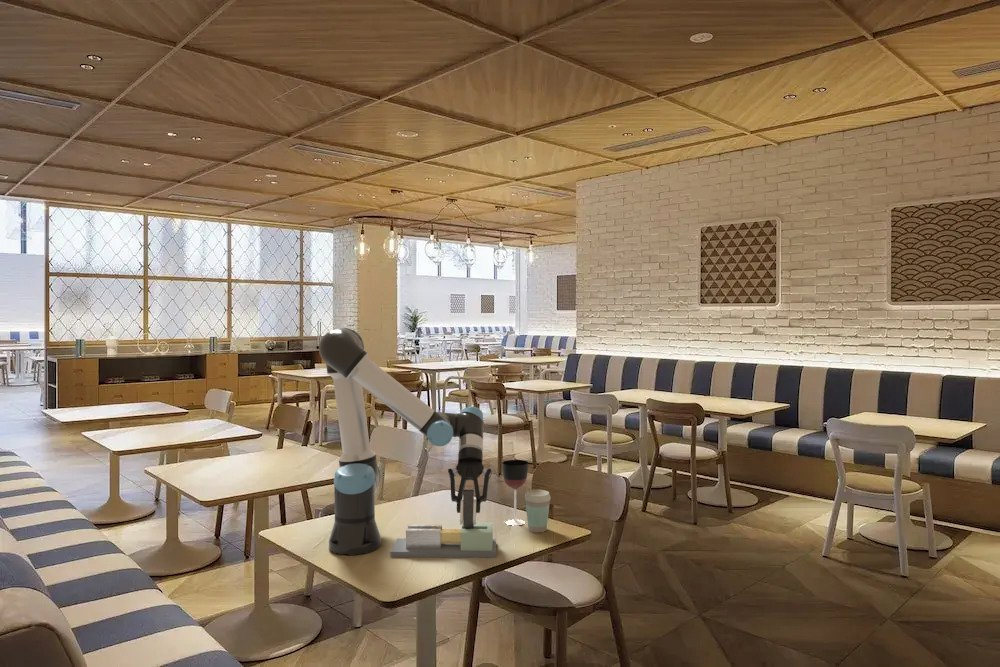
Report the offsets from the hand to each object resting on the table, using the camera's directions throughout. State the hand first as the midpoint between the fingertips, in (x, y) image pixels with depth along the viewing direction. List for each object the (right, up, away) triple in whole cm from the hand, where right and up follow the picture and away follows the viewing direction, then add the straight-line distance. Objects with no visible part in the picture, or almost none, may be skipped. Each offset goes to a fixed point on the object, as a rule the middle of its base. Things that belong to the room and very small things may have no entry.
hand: (467, 522), depth 191 cm
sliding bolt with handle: (-4, -7, +4) cm, 9 cm away
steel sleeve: (-13, -8, +4) cm, 16 cm away
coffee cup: (+21, -9, +22) cm, 32 cm away
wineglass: (+14, -8, +29) cm, 33 cm away
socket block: (+3, -8, +4) cm, 9 cm away
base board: (-7, -9, +4) cm, 12 cm away
